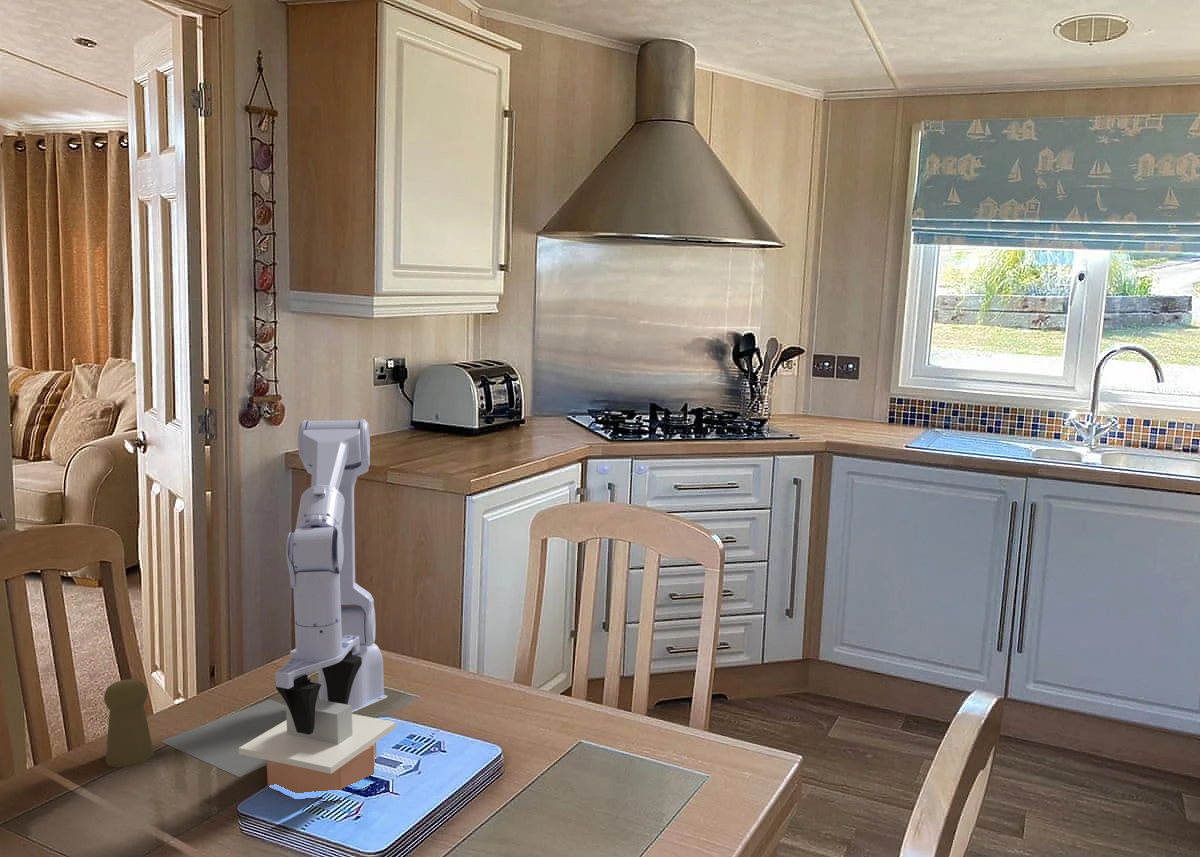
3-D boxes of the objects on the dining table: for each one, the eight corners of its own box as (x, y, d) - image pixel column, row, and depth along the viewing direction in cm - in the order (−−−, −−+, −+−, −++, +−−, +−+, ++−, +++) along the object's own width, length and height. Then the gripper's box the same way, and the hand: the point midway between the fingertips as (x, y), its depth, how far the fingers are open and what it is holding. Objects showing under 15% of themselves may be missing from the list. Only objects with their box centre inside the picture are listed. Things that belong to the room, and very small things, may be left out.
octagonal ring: (330, 746, 139) (329, 711, 138) (396, 771, 131) (395, 735, 130) (249, 783, 128) (247, 746, 127) (316, 813, 120) (314, 774, 120)
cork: (135, 773, 131) (130, 693, 129) (94, 769, 132) (89, 689, 130) (164, 753, 136) (159, 676, 135) (125, 749, 138) (120, 672, 136)
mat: (269, 703, 153) (269, 699, 153) (348, 732, 143) (348, 728, 143) (160, 745, 139) (160, 741, 139) (239, 781, 128) (239, 777, 128)
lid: (310, 711, 138) (309, 678, 137) (396, 727, 133) (395, 693, 132) (239, 753, 125) (237, 717, 125) (331, 773, 120) (329, 735, 119)
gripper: (327, 600, 135) (331, 696, 137) (253, 633, 122) (258, 739, 123) (371, 606, 132) (374, 704, 134) (300, 641, 119) (304, 749, 121)
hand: (321, 721), depth 129 cm, fingers open, 6 cm apart
